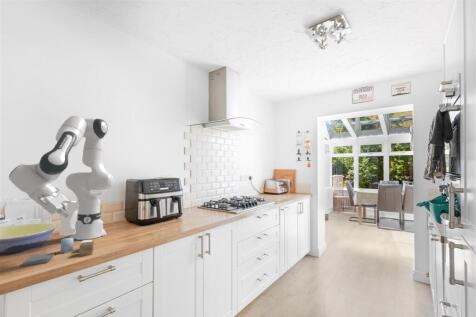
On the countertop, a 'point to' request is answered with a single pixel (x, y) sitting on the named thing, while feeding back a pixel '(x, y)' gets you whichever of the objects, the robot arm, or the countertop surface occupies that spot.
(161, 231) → the countertop surface
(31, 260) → the charcoal mat
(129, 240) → the countertop surface
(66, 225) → the beer glass
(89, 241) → the pale grey block
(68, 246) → the slate-blue cylinder
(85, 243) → the walnut cube
